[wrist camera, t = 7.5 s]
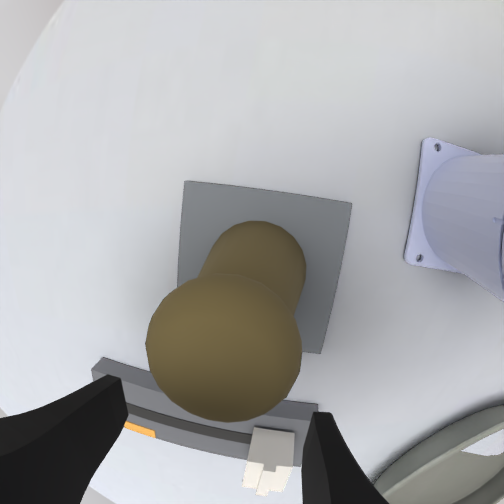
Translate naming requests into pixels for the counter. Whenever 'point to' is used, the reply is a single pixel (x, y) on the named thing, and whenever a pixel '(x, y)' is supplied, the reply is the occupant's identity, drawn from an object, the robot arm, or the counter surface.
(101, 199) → the counter surface
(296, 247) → the cork
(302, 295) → the slate mat
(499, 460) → the cake pan
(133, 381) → the switch bar
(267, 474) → the switch tab
